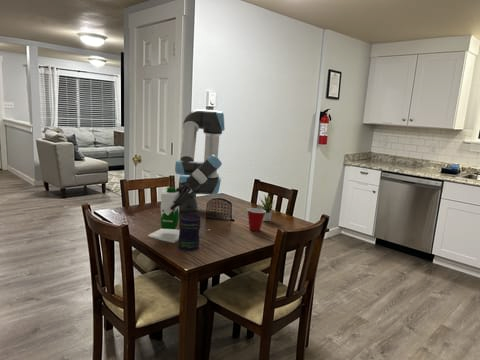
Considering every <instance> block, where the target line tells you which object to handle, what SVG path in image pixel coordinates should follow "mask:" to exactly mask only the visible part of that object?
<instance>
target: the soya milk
mask: <svg viewBox="0 0 480 360" xmlns="http://www.w3.org/2000/svg"><path fill="white" fill-rule="evenodd" d="M175 190H176V187H175V186H169V187H167V188H166V190H163V192H161V196H160V206H161V207H160V227H161V228H160V229H177V227H179V226H178V225H179V221H180V211H179V206H177V207H176V208H175V209H174V210H173V211H172V212H171V213H170V214H169V215H166V214H165V213H164V211H165V210H166V209H167V208H168V207H169V206H170V205H171V204H172V203H173V201H176V200H177V198H178V197H179V192H177V191H175Z"/></svg>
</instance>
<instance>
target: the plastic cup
mask: <svg viewBox="0 0 480 360" xmlns="http://www.w3.org/2000/svg"><path fill="white" fill-rule="evenodd" d="M263 209H264V208H256V207H249V208H246V210H247V217H248V225H249V227H248V228H249V230H250V231H251V230H252V231H251V232H255V231H257V232H260V231H261V227H262V223H263V217H264V214H265V213H266V211H265V210H263ZM259 230H260V231H259Z"/></svg>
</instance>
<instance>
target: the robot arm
mask: <svg viewBox="0 0 480 360" xmlns="http://www.w3.org/2000/svg"><path fill="white" fill-rule="evenodd" d="M182 129H183V135H182V143H181V144H182V145H181V153H180V158H179V159H180V160H176V161H175V165H174V173H175V174H176V175H179V177H178V187H177V188H175V191H177V192H179V197H178V198H177V200H176V201H173V203H172V204H171V205H170V206H169V207H168V208H167V209H166V210H165V211H164V213H165V214H166V215H169V214H170V213H171V212H172V211H173V210H174V209H175V208H176V207H177V206H179V212H181V213H182V212H183V213H188V212H189V213H193V212H196V211H198V210H199V204H198V199H197V195H206V196H207V195H208V196H216V195H218V194H219V191H220V186H221V182H222V181H221V180H222V179H221V178H222V177H219V176H220V174H219V173H218V170H219V169H220V168H221V166H222V161H221V160H220V158H219V157H218V156H219V149H220V148H219V147H220V146H219V145H220V144H219V143H220V136H221V135H222V134H223V132H224V131H225V130H226V129H225V115H224V112H223V111H220V110H213V109H209V110H208V109H202V108H201V109H200V108H199V109H195V110H192V111H191V112H189V113H188V114H187V116H185V119H184V120H183V123H182ZM199 129H200V130H202V131H203V134H204V136H205V138H204V155H203V156H204V157H203V161H202V162H201V161H195V153H196V145H197V143H196V142H197V133H198V131H199ZM159 208H161V205H160V206H159Z"/></svg>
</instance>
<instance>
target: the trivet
mask: <svg viewBox="0 0 480 360" xmlns="http://www.w3.org/2000/svg"><path fill="white" fill-rule="evenodd" d="M179 232H180V229H177V228H176V229H161V228H160V229H157V230H155V231H153V232H151V233H149V234H148V235H147V237H148V238H151V239H155V240H160V241H163V242H168V243H171V244H172V243H173V244H175V243H176V242H178V239H179V238H178V237H179Z"/></svg>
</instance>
